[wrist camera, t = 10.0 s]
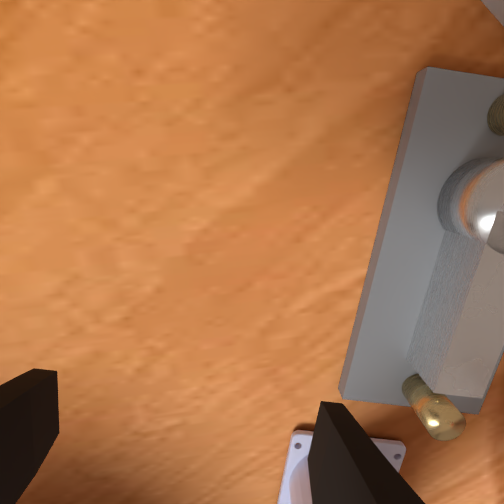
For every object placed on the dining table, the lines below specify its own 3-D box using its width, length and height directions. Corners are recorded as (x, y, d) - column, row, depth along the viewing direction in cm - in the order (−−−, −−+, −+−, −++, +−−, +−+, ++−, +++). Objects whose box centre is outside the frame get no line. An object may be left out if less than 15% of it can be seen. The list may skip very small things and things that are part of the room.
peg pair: (428, 402, 20) (459, 442, 17) (397, 398, 19) (423, 438, 17) (534, 95, 15) (602, 77, 12) (494, 89, 15) (554, 70, 12)
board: (467, 403, 21) (478, 414, 20) (338, 388, 20) (342, 398, 19) (585, 99, 16) (607, 95, 15) (416, 72, 15) (427, 66, 15)
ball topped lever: (460, 364, 19) (498, 400, 16) (391, 356, 19) (416, 391, 16) (534, 163, 16) (598, 162, 13) (451, 151, 16) (497, 147, 13)
